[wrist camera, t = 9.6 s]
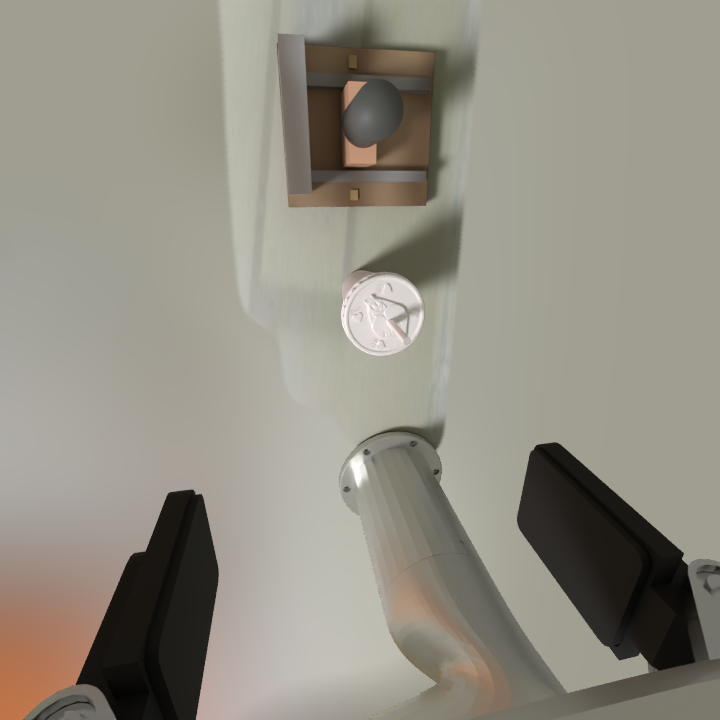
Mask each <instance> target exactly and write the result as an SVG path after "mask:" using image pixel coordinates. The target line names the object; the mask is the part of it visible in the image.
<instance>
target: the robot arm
mask: <svg viewBox="0 0 720 720" xmlns="http://www.w3.org/2000/svg"><path fill="white" fill-rule="evenodd" d="M441 474H442V467H441V462H440V458H439V456H438V454H437V452H436V451H435V449H434V448H433V446H432V445H431V444H430V443H429V442H428V441H427V440H425V439H424V438H422V437H420V436H418V435H416V434H412V433H408V432H388V433H384V434H380V435H377V436H375V437H372V438H370V439H368V440H366V441H365V442H363V443H362V444H360V445H359V446H358V447H357V448H355V449H354V450H353V451H352V452H351V454H350V455H349V456H348V457H347V459H346V460H345V462H344V464H343V466H342V468H341V472H340V476H339V486H340V492H341V495H342V498H343V500H344V502H345V504H346V505H347V507H348V508H350V510H351V511H353V512H354V513H356V514H357V515H359V516H360V518H361V522H362V526H363V530H364V534H365V538H366V542H367V546H368V550H369V554H370V558H371V562H372V566H373V570H374V574H375V578H376V582H377V586H378V590H379V594H380V598H381V602H382V606H383V610H384V614H385V618H386V622H387V625H388V629H389V631H390V634H391V636H392V638H393V640H394V642H395V643H396V645H397V647H398V648H399V649H400V651H401V652H402V653H403V655H404V656H405V657H406V658H407V659H408V660H409V661H410V662H411V663H412V664H413V665H414V666H416V667H417V668H418V669H419V670H420V671H422V672H423V673H424V674H426V675H427V676H428V677H429V678H431V679H432V680H434V681H435V682H436V683H437V684H436V685H435V686H433V687H431V688H429V689H428V690H426V691H424V692H422V693H421V694H420V695H419V696H417V697H414V698H412V699H410V700H407V701H405V702H403V703H401V704H399V705H396V706H394V707H392V708H389V709H387V710H385V711H383V712H381V713H378V714H376V715H374V716H372V717H370V718H367V719H365V720H720V562H717V561H713V560H709V559H698V560H695V561H692V562H691V563H690V564H689V566H688V565H687V564H686V563H685V562H684V561H683V560H682V557H683V555H684V553H683V552H682V551H681V550H679V549H678V548H677V547H676V546H675V545H674V544H672V542H670V541H669V540H668V539H667V538H666V537H665V536H664V535H662V534H661V533H660V532H659V531H658V530H657V529H656V528H654V527H653V526H652V525H651V524H650V523H649V522H648V521H647V520H645V519H644V518H643V517H642V516H641V515H640V514H639V513H638V512H636V511H635V510H634V509H633V508H632V507H631V506H629V505H628V504H627V503H626V502H625V501H624V500H623V499H622V498H621V497H619V496H618V495H617V494H616V493H615V492H614V491H613V490H611V489H610V488H609V487H608V486H607V485H606V484H605V483H603V482H602V481H601V480H600V479H599V478H598V477H597V476H595V475H594V474H593V473H592V472H591V471H590V470H589V469H588V468H586V467H585V466H584V465H583V464H582V463H581V462H580V461H579V460H577V459H576V458H575V457H574V456H573V455H572V454H570V453H569V452H568V451H567V450H566V449H565V448H564V447H562V445H560V444H558V443H555V442H554V443H547V444H539V445H536V447H535V448H534V450H533V451H531V453H530V456H529V461H528V466H527V471H526V476H525V481H524V486H523V491H522V496H521V501H520V506H519V511H518V516H517V523H518V527H519V529H520V531H521V532H522V534H523V535H524V536H525V538H526V539H527V541H528V542H529V543H530V545H531V546H532V547H533V549H534V550H535V552H536V553H537V554H538V556H539V557H540V559H541V560H542V561H543V563H544V564H545V566H546V567H547V568H548V570H549V571H550V572H551V574H552V575H553V577H554V578H555V579H556V581H557V582H558V584H559V585H560V586H561V588H562V589H563V591H564V592H565V593H566V595H567V596H568V597H569V599H570V600H571V602H572V603H573V604H574V606H575V607H576V609H577V610H578V611H579V613H580V614H581V615H582V617H583V618H584V620H585V621H586V622H587V624H588V625H589V627H590V628H591V629H592V631H593V632H594V634H595V635H596V636H597V638H598V639H599V640H600V641H601V643H602V644H604V645H605V646H608V647H610V649H611V650H612V651H613V653H614V654H615V656H616V657H617V658H618V659H619V660H622V659H627V658H631V657H635V656H638V655H639V653H641V654H642V655H643V656H644V658H645V659H646V660H647V661H648V669H649V673H647V674H643V675H639V676H635V677H631V678H627V679H623V680H619V681H615V682H611V683H607V684H603V685H599V686H595V687H591V688H587V689H583V690H579V691H575V692H571V693H567V692H566V690H565V689H564V688H563V686H562V685H561V684H560V682H559V681H558V680H557V678H556V677H555V675H554V674H553V673H552V672H551V670H550V669H549V667H548V666H547V665H546V663H545V662H544V660H543V659H542V658H541V656H540V655H539V654H538V652H537V651H536V650H535V648H534V646H533V645H532V643H531V642H530V641H529V639H528V638H527V636H526V635H525V633H524V632H523V630H522V629H521V627H520V625H519V624H518V622H517V621H516V619H515V618H514V616H513V614H512V613H511V612H510V609H509V608H508V606H507V604H506V602H505V601H504V599H503V597H502V596H501V594H500V592H499V590H498V589H497V587H496V585H495V583H494V581H493V580H492V578H491V576H490V574H489V573H488V571H487V569H486V567H485V566H484V564H483V562H482V560H481V558H480V557H479V555H478V553H477V551H476V550H475V548H474V546H473V544H472V542H471V540H470V539H469V537H468V535H467V533H466V531H465V530H464V528H463V526H462V524H461V522H460V521H459V519H458V517H457V515H456V513H455V512H454V510H453V508H452V506H451V504H450V503H449V501H448V499H447V497H446V495H445V494H444V492H443V490H442V488H441V486H440V485H439V482H440V479H441ZM218 573H219V572H218V564H217V560H216V555H215V551H214V546H213V541H212V536H211V532H210V528H209V522H208V518H207V513H206V508H205V504H204V499H203V496H202V494H199V495H195V492H194V490H184V491H177V492H170V493H168V495H167V497H166V500H165V502H164V505H163V507H162V510H161V513H160V515H159V518H158V521H157V523H156V526H155V529H154V531H153V534H152V536H151V539H150V542H149V544H148V547H147V550H146V551H145V552H139V553H134V554H133V555H132V556H131V557H130V559H129V561H128V562H127V564H126V566H125V569H124V571H123V574H122V576H121V578H120V581H119V583H118V586H117V588H116V590H115V593H114V595H113V597H112V600H111V602H110V605H109V607H108V609H107V612H106V614H105V616H104V619H103V621H102V624H101V626H100V628H99V631H98V633H97V635H96V638H95V640H94V643H93V645H92V647H91V649H90V652H89V654H88V657H87V659H86V661H85V664H84V666H83V668H82V671H81V673H80V676H79V678H78V681H77V683H76V685H74V686H71V687H68V688H65V689H63V690H60V691H58V692H56V693H55V694H53V695H52V696H50V697H48V698H47V699H45V700H44V701H42V702H41V703H40V704H39V705H38V706H37V707H35V708H34V709H33V710H32V711H31V712H30V713H29V714H28V715H27V716H26V717H25V718H24V719H23V720H196V715H197V709H198V702H199V696H200V690H201V684H202V678H203V672H204V666H205V659H206V654H207V647H208V641H209V635H210V629H211V623H212V617H213V611H214V604H215V598H216V592H217V586H218V576H219V574H218Z"/></svg>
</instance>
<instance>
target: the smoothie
mask: <svg viewBox="0 0 720 720" xmlns="http://www.w3.org/2000/svg"><path fill="white" fill-rule="evenodd" d="M342 293H343V305H342V312H341V318H342V325H343V328H344V330H345V333H346V335H347V336H348V337H349V339H350V340H351V341H352V343H353V344H354V345H355V346H356V347H357V348H359V349H360V350H362V351H364V352H366V353H368V354H372V355H378V356H384V355H391V354H394V353H397V352H399V351H401V350H403V349H405V348H406V347H407V346H409V345H410V344H411V343H412V342H413V341H414V340H415V339H416V337H417V336H418V334H419V333H420V331H421V329H422V326H423V323H424V318H425V305H424V301H423V298H422V296H421V294H420V292H419V290H418V289H417V288H416V287H415V286H414V285H413V284H412V283H411V282H410V281H409V280H408V279H407V278H405V277H403V276H401V275H399V274H397V273H391V272H378V273H374V272H370V271H365V270H358V271H355V272H352V273H351V274H349V275H348V276H347V278H346V279H345V281H344V283H343V287H342Z"/></svg>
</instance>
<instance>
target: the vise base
mask: <svg viewBox="0 0 720 720" xmlns="http://www.w3.org/2000/svg"><path fill="white" fill-rule="evenodd" d="M277 55H278V68H279V82H280V95H281V109H282V122H283V136H284V149H285V163H286V176H287V190H288V203H289V207H346V206H426V198H427V181H428V163H429V145H430V127H431V110H432V92H433V74H434V57H435V53H432V52H416V51H399V50H382V49H366V48H349V47H333V46H316V45H305V44H304V35H292V34H278V43H277ZM373 79H384V80H387V81H389V82H390V83H392V84H393V85H394V86H395V87H396V88H397V89H398V91H399V92H400V94H401V97H402V100H403V106H404V112H403V118H402V121H401V123H400V125H399V127H398V129H397V130H396V131H395V132H394V133H393V134H391V135H390V136H388V137H386V138H385V139H383V140H381V141H379V142H378V143H376V164H374V165H371V166H368V167H342V125H341V93H342V91H343V89H344V88H345V86H346V84H347V83H348V81H357V82H369V81H371V80H373Z"/></svg>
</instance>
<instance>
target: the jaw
mask: <svg viewBox="0 0 720 720" xmlns="http://www.w3.org/2000/svg"><path fill="white" fill-rule="evenodd" d="M403 112H404V106H403V100H402V97H401V94H400V92H399V91H398V89H397V88H396V87H395V86H394V85H393V84H392V83H390V82H389V81H387V80H384V79H373V80H371V81H369V82H357V81H348V83H347V84H346V86H345V88H344V89H343V91H342V93H341V125H342V167H368V166H371V165H374V164H376V143H378V142H379V141H381V140H383V139H385V138H386V137H388V136H390V135H391V134H393V133H394V132H395V131H396V130H397V129H398V127H399V125H400V123H401V121H402V118H403Z"/></svg>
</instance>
